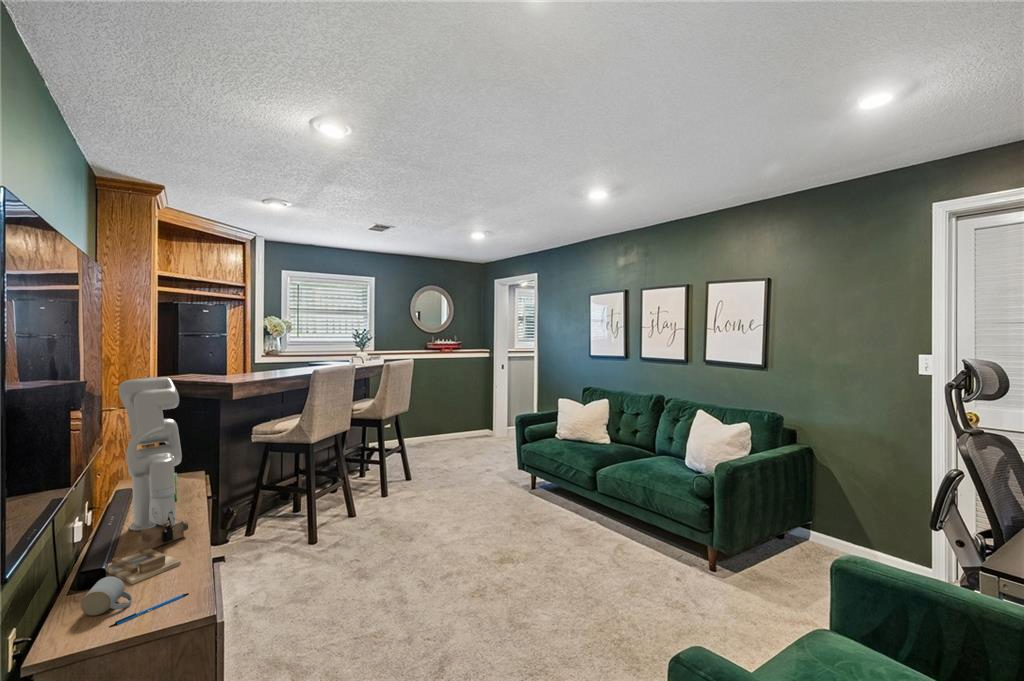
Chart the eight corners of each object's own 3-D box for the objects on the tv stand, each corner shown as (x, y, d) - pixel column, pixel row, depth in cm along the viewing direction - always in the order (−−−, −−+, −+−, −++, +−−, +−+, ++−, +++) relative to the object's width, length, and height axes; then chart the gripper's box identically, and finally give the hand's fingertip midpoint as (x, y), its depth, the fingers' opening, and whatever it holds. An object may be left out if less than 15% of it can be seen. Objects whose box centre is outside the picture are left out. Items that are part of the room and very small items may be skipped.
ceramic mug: (78, 620, 131) (78, 592, 131) (94, 603, 139) (93, 577, 139) (124, 613, 135) (124, 586, 134) (137, 597, 142) (137, 572, 142)
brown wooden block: (148, 550, 172) (147, 533, 172) (141, 547, 174) (140, 531, 174) (189, 534, 184) (188, 519, 184) (182, 531, 186) (181, 516, 186)
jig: (102, 569, 159) (101, 557, 159) (150, 551, 171) (150, 540, 171) (132, 584, 149) (131, 571, 149) (180, 564, 162) (180, 552, 162)
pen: (108, 627, 128) (108, 623, 128) (188, 594, 144) (188, 590, 144) (110, 629, 128) (109, 624, 128) (190, 595, 143) (189, 591, 143)
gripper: (139, 490, 178) (141, 538, 179) (163, 499, 170) (164, 549, 171) (161, 484, 185) (163, 530, 186) (185, 492, 177) (187, 540, 178)
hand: (164, 539), depth 178 cm, fingers closed on brown wooden block, 4 cm apart
